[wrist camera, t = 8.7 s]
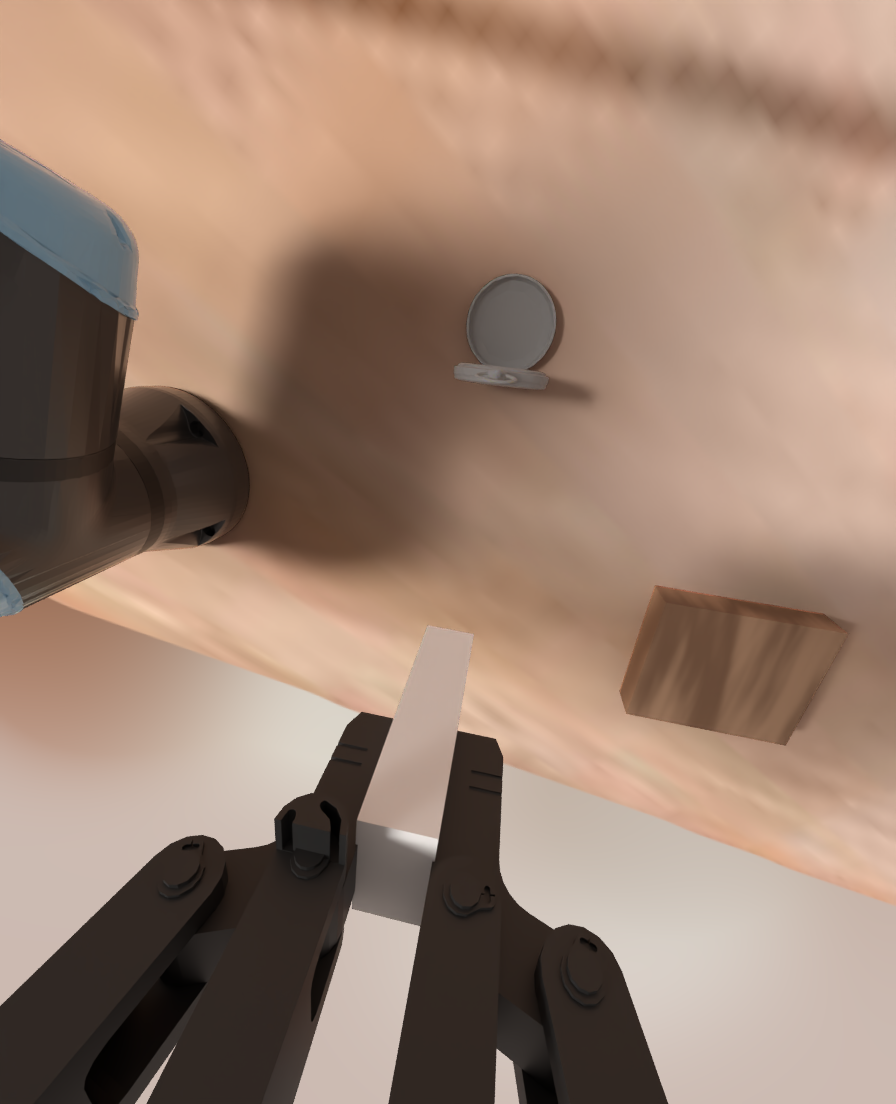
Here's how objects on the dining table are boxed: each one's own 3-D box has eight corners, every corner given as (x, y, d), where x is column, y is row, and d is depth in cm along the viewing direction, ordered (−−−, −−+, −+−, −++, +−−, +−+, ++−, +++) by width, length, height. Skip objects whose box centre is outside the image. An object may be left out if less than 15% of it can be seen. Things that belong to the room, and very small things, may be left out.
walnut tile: (626, 713, 40) (785, 745, 39) (665, 602, 36) (848, 633, 34) (618, 688, 44) (765, 716, 42) (653, 583, 39) (820, 611, 38)
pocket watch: (534, 257, 31) (537, 207, 22) (577, 369, 33) (596, 367, 24) (435, 317, 34) (401, 295, 25) (482, 418, 36) (466, 432, 27)
